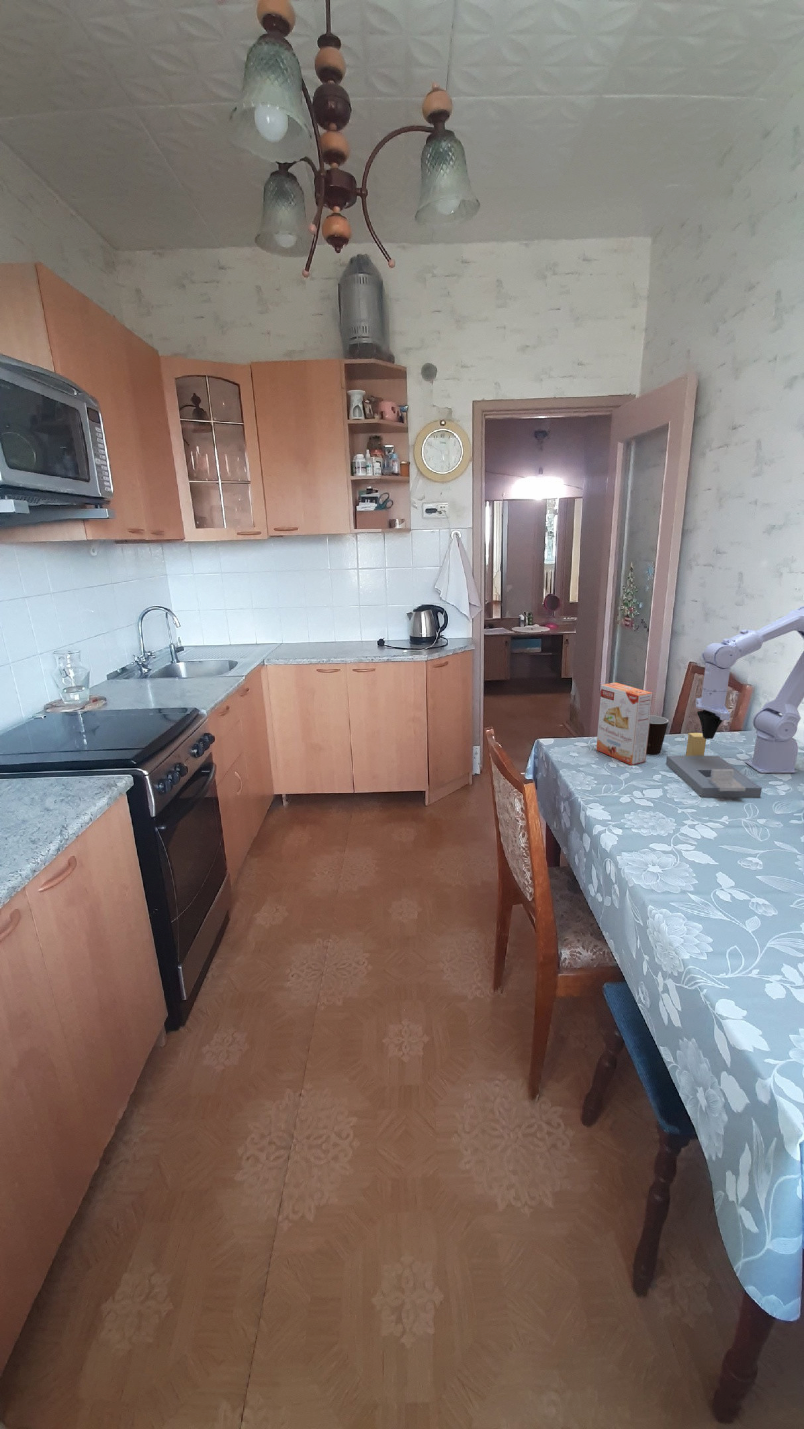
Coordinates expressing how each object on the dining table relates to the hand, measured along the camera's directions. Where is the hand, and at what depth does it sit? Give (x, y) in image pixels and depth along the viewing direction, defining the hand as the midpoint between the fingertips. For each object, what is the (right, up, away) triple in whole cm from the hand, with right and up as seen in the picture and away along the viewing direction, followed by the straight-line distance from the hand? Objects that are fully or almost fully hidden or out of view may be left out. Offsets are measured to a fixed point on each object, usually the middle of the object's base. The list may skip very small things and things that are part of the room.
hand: (707, 738), depth 153 cm
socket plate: (-1, -11, -3) cm, 11 cm away
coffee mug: (-8, -4, +19) cm, 21 cm away
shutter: (-3, -11, -14) cm, 18 cm away
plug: (+2, -6, +12) cm, 14 cm away
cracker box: (-18, -6, +14) cm, 24 cm away
